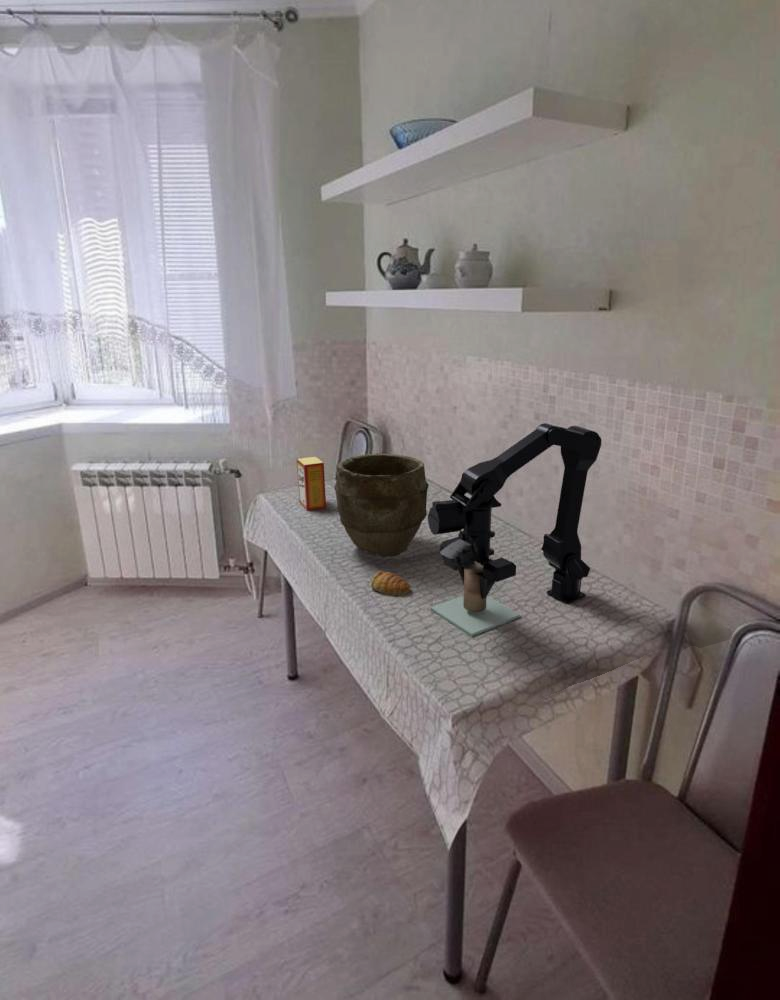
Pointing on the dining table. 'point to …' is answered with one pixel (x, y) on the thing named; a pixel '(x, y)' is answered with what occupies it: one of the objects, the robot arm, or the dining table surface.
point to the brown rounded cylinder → (473, 589)
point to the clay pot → (381, 501)
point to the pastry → (389, 583)
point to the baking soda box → (311, 483)
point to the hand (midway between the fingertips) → (475, 593)
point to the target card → (474, 615)
